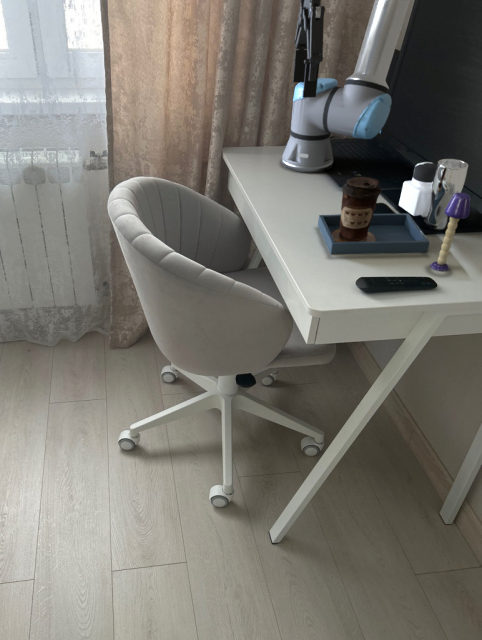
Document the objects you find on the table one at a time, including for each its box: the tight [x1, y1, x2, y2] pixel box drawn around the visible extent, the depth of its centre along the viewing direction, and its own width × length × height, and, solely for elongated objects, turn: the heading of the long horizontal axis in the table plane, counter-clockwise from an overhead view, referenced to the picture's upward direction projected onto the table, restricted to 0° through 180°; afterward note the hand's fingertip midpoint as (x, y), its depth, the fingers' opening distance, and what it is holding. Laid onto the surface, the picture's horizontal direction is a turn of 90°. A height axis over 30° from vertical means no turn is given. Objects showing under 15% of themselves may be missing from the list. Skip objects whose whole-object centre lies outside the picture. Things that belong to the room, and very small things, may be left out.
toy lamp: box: [429, 192, 471, 273], centre depth 116 cm, size 5×5×17 cm
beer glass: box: [423, 158, 469, 232], centre depth 133 cm, size 7×7×15 cm
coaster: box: [332, 229, 375, 242], centre depth 131 cm, size 10×10×1 cm
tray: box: [317, 212, 431, 255], centre depth 130 cm, size 15×22×4 cm
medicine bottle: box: [398, 161, 438, 218], centre depth 140 cm, size 7×7×12 cm
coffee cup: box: [339, 176, 382, 242], centre depth 126 cm, size 9×8×13 cm
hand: (303, 89), depth 127 cm, fingers open, 13 cm apart
